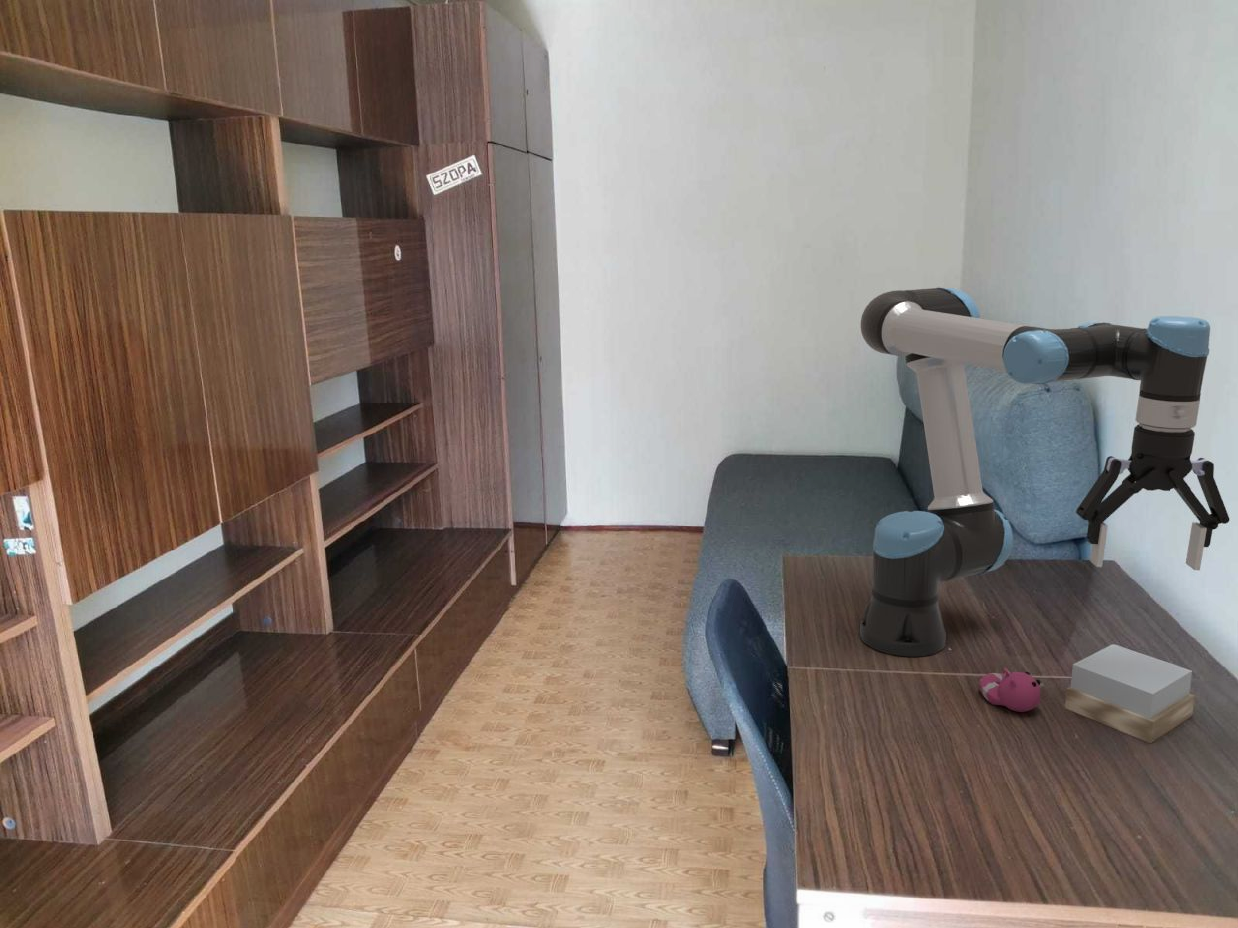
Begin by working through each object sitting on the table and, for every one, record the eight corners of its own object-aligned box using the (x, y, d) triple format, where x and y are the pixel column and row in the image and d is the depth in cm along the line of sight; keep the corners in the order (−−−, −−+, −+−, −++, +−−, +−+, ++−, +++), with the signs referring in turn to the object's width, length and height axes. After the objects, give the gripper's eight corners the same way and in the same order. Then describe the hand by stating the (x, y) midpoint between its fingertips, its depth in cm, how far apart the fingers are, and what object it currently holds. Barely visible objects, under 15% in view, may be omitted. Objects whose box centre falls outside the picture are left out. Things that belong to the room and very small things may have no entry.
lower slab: (1064, 711, 144) (1066, 688, 143) (1107, 686, 151) (1109, 664, 150) (1150, 746, 133) (1153, 721, 132) (1191, 718, 140) (1195, 695, 139)
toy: (1065, 718, 141) (1036, 673, 138) (1012, 744, 143) (982, 700, 140) (1038, 676, 151) (1010, 633, 148) (989, 701, 153) (961, 659, 151)
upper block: (1070, 687, 143) (1072, 664, 142) (1110, 666, 149) (1113, 643, 148) (1149, 718, 133) (1152, 694, 132) (1189, 694, 140) (1192, 670, 139)
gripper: (1082, 431, 128) (1064, 571, 134) (1273, 434, 125) (1247, 577, 131) (1064, 419, 135) (1047, 553, 141) (1244, 422, 132) (1220, 558, 138)
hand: (1143, 565), depth 136 cm, fingers open, 13 cm apart
